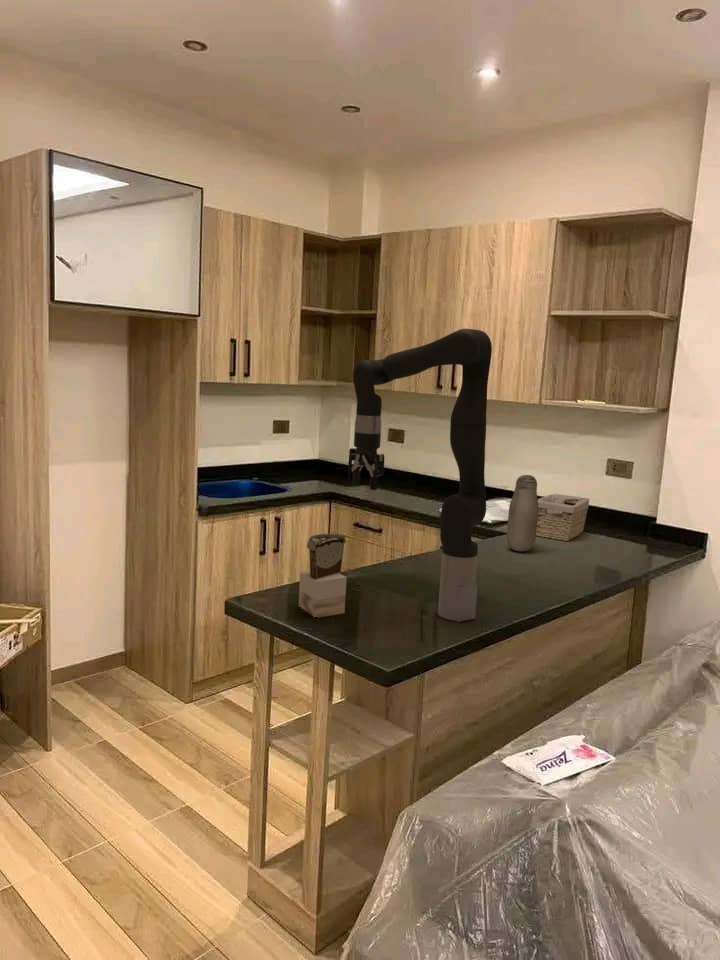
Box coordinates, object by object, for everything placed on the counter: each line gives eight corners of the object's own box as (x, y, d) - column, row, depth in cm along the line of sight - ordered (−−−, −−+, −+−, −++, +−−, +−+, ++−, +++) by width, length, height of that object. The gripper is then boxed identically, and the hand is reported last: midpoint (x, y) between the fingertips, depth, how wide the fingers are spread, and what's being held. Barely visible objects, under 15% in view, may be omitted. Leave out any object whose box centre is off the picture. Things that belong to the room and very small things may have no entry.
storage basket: (549, 526, 312) (552, 492, 309) (587, 532, 303) (591, 497, 301) (530, 536, 291) (533, 500, 289) (571, 543, 283) (574, 506, 281)
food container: (327, 566, 201) (329, 531, 200) (344, 571, 197) (346, 535, 196) (295, 575, 192) (297, 538, 190) (312, 580, 188) (314, 543, 186)
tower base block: (344, 613, 194) (345, 595, 193) (314, 618, 189) (315, 600, 188) (327, 603, 202) (328, 585, 201) (298, 607, 197) (299, 590, 196)
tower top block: (345, 595, 194) (346, 577, 193) (316, 600, 189) (316, 581, 188) (328, 585, 201) (329, 568, 200) (299, 590, 196) (300, 572, 195)
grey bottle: (523, 555, 261) (530, 478, 256) (500, 549, 268) (506, 474, 264) (539, 552, 267) (547, 476, 263) (517, 545, 275) (523, 472, 270)
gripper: (393, 433, 205) (390, 490, 207) (363, 427, 216) (360, 482, 219) (372, 434, 200) (368, 492, 203) (342, 428, 212) (340, 483, 214)
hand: (364, 487), depth 211 cm, fingers open, 8 cm apart
